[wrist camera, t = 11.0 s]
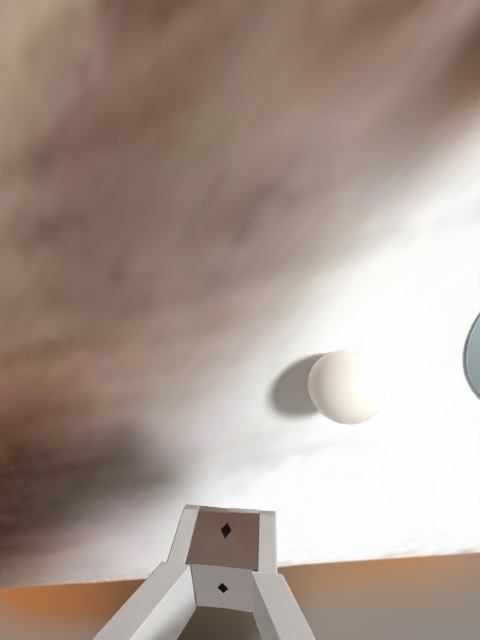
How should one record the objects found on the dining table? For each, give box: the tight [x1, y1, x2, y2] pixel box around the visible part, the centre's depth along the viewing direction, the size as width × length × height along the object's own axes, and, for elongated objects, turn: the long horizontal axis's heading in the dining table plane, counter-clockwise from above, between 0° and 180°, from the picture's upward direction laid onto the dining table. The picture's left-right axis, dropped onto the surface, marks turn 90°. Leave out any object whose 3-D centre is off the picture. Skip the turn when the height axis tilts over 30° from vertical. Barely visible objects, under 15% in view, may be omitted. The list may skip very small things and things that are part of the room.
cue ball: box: [308, 350, 385, 424], centre depth 20 cm, size 6×6×6 cm
